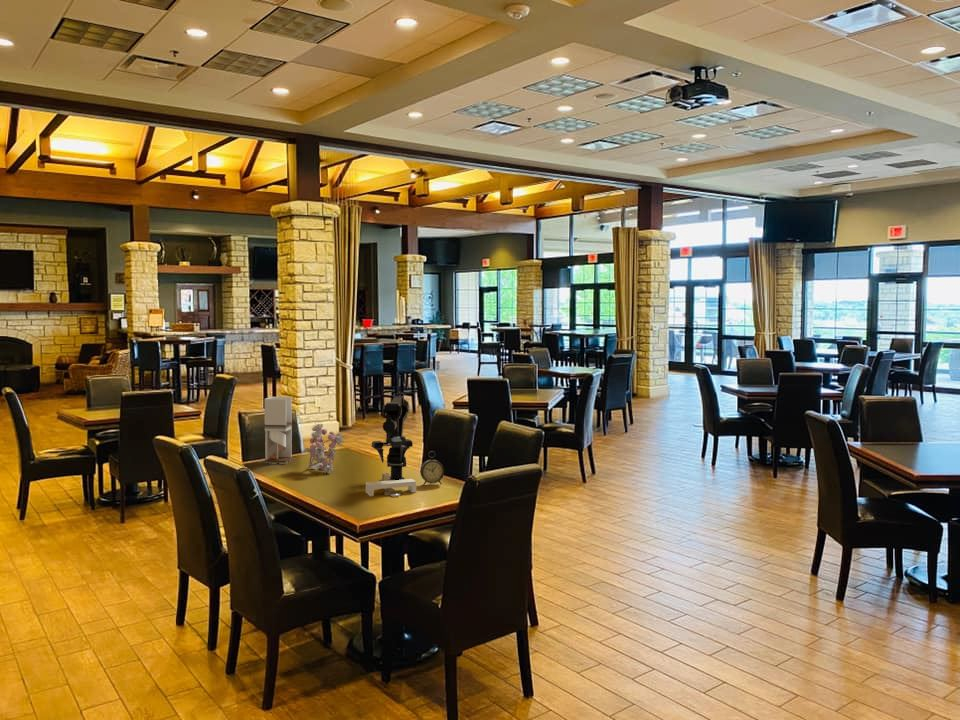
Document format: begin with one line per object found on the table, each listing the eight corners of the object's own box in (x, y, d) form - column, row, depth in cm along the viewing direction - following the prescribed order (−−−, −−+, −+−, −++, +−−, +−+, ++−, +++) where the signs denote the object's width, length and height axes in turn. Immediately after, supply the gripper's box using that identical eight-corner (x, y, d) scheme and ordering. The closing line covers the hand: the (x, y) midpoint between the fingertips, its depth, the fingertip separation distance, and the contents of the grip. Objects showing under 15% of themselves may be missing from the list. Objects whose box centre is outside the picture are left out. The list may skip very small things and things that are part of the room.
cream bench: (365, 493, 337) (365, 482, 337) (411, 489, 346) (412, 478, 345) (369, 496, 331) (369, 485, 331) (416, 492, 340) (416, 481, 340)
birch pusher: (376, 488, 346) (376, 473, 346) (392, 487, 350) (392, 472, 349) (385, 495, 333) (385, 480, 333) (402, 493, 337) (402, 478, 336)
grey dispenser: (264, 464, 397) (264, 398, 395) (270, 460, 408) (270, 396, 405) (285, 464, 397) (285, 399, 394) (291, 460, 407) (291, 397, 405)
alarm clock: (421, 486, 352) (421, 452, 351) (419, 483, 357) (419, 450, 356) (444, 485, 355) (444, 451, 354) (441, 482, 360) (442, 449, 359)
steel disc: (388, 495, 334) (388, 493, 334) (398, 494, 336) (398, 492, 336) (392, 498, 330) (392, 495, 330) (401, 497, 332) (401, 494, 332)
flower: (287, 472, 371) (308, 428, 367) (296, 458, 393) (317, 417, 389) (324, 489, 373) (345, 446, 369) (331, 475, 395) (351, 434, 391)
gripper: (378, 432, 341) (377, 466, 342) (416, 430, 349) (416, 463, 350) (371, 429, 352) (371, 461, 353) (409, 427, 359) (408, 459, 360)
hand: (392, 461), depth 354 cm, fingers open, 9 cm apart
